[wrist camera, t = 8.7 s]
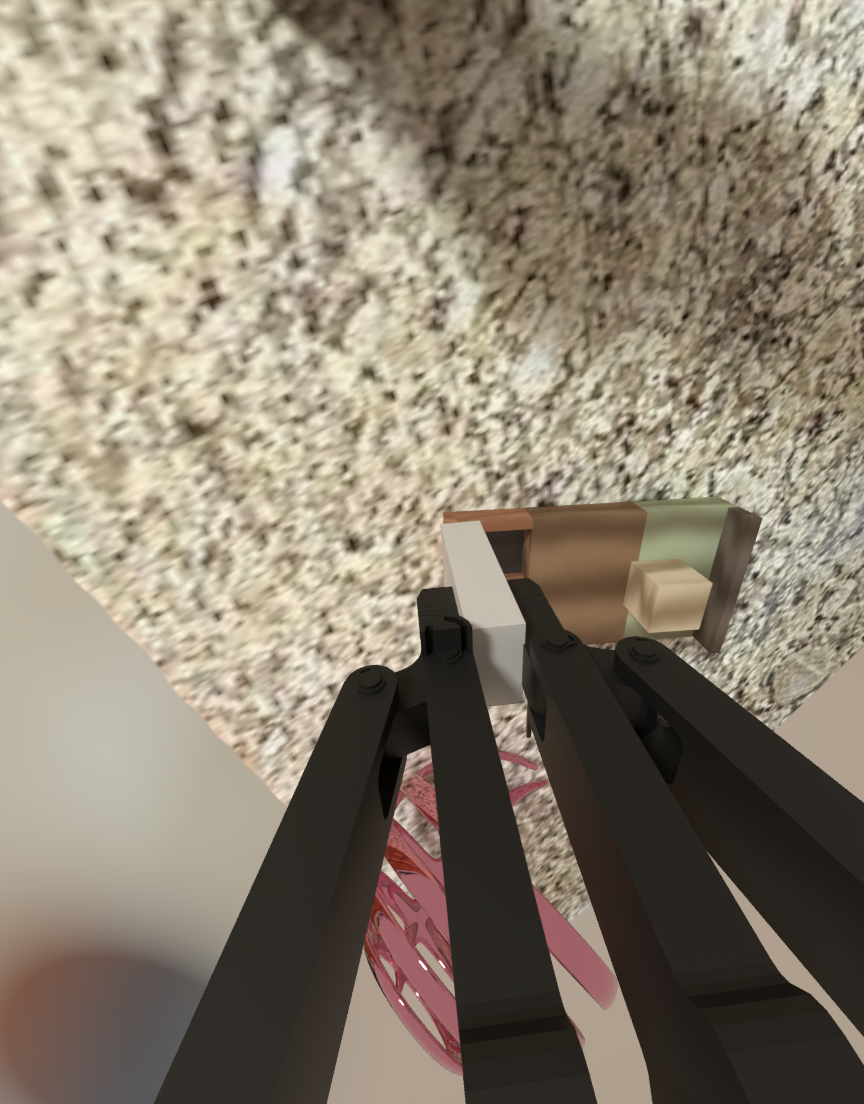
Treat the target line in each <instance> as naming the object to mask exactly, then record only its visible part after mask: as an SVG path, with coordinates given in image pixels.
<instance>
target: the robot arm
mask: <svg viewBox="0 0 864 1104" xmlns="http://www.w3.org/2000/svg"><path fill="white" fill-rule="evenodd" d="M441 540H442V556H443V573H444V586H445V587H440V588H430V589H422V590H421V592H420V594H419V596H418V597H417V607H418V617H419V628H420V639H421V654H420V656H419V658H418V659H417V660H416V661H415V663H413V664H412V665H411V666H409V667H407V668H405V669H403V670H401V671H398V672H395V673H394V671H392V670H391V669H389V668H388V667H385V666H380V665H370V666H365V667H362V668H359V669H357V670H356V671H354V672H353V673H351V674H350V675H349V676H348V678H347V679H346V680H345V682H344V684H343V686H342V688H341V690H340V693H339V695H338V697H337V699H336V701H335V704H334V706H333V708H332V710H331V713H330V715H329V717H328V719H327V721H326V724H325V726H324V728H323V730H322V732H321V735H320V737H319V739H318V741H317V744H316V746H315V748H314V750H313V752H312V755H311V757H310V759H309V761H308V763H307V766H306V768H305V770H304V772H303V775H302V777H301V779H300V781H299V783H298V786H297V788H296V790H295V792H294V794H293V797H292V799H291V801H290V803H289V806H288V808H287V810H286V812H285V814H284V817H283V819H282V821H281V823H280V826H279V828H278V830H277V832H276V834H275V837H274V839H273V841H272V843H271V845H270V848H269V850H268V852H267V855H266V856H265V859H264V861H263V863H262V865H261V868H260V870H259V872H258V874H257V876H256V879H255V881H254V883H253V885H252V887H251V890H250V892H249V894H248V896H247V899H246V901H245V903H244V905H243V908H242V910H241V912H240V914H239V916H238V918H237V921H236V923H235V925H234V927H233V930H232V932H231V934H230V936H229V939H228V941H227V943H226V945H225V947H224V949H223V952H222V954H221V956H220V958H219V961H218V963H217V965H216V967H215V970H214V972H213V974H212V976H211V978H210V981H209V983H208V985H207V987H206V989H205V991H204V994H203V996H202V999H201V1000H200V1003H199V1005H198V1007H197V1009H196V1011H195V1014H194V1016H193V1018H192V1020H191V1023H190V1025H189V1027H188V1029H187V1031H186V1034H185V1036H184V1038H183V1040H182V1042H181V1045H180V1047H179V1049H178V1051H177V1054H176V1056H175V1058H174V1060H173V1063H172V1065H171V1067H170V1069H169V1071H168V1073H167V1076H166V1078H165V1080H164V1083H163V1085H162V1087H161V1089H160V1091H159V1093H158V1096H157V1098H156V1100H155V1102H154V1104H327V1100H328V1095H329V1091H330V1087H331V1082H332V1078H333V1074H334V1070H335V1065H336V1061H337V1057H338V1052H339V1048H340V1043H341V1040H342V1035H343V1031H344V1026H345V1022H346V1018H347V1014H348V1009H349V1005H350V1001H351V997H352V992H353V988H354V984H355V979H356V975H357V970H358V967H359V962H360V958H361V954H362V949H363V945H364V941H365V936H366V932H367V928H368V924H369V919H370V915H371V911H372V906H373V902H374V898H375V894H376V889H377V885H378V881H379V876H380V872H381V868H382V863H383V859H384V855H385V851H386V846H387V842H388V838H389V833H390V829H391V825H392V821H393V816H394V812H395V808H396V803H397V799H398V795H399V790H400V786H401V782H402V778H403V773H404V769H405V765H406V760H407V754H410V753H412V752H414V751H417V750H419V749H421V748H423V747H426V746H428V745H430V744H431V754H432V764H433V774H434V785H435V795H436V805H437V815H438V825H439V836H440V846H441V856H442V866H443V877H444V887H445V897H446V907H447V917H448V928H449V938H450V948H451V958H452V969H453V979H454V989H455V999H456V1009H457V1020H458V1030H459V1040H460V1050H461V1061H462V1071H463V1081H464V1091H465V1102H466V1104H597V1101H596V1097H595V1093H594V1089H593V1086H592V1082H591V1078H590V1074H589V1071H588V1067H587V1064H586V1060H585V1057H584V1054H583V1050H582V1047H581V1044H580V1041H579V1039H578V1036H577V1033H576V1030H575V1028H574V1026H573V1024H572V1023H571V1021H570V1019H569V1018H568V1016H567V1014H566V1012H565V1009H564V1007H563V1003H562V999H561V997H560V992H559V989H558V985H557V981H556V977H555V973H554V969H553V965H552V961H551V957H550V953H549V949H548V945H547V941H546V937H545V933H544V930H543V926H542V922H541V918H540V914H539V910H538V906H537V902H536V898H535V894H534V890H533V886H532V882H531V878H530V874H529V871H528V867H527V863H526V859H525V855H524V851H523V847H522V843H521V839H520V835H519V831H518V827H517V823H516V819H515V815H514V812H513V808H512V804H511V800H510V796H509V792H508V788H507V784H506V780H505V776H504V772H503V768H502V764H501V760H500V756H499V752H498V749H497V745H496V741H495V737H494V733H493V729H492V725H491V721H490V717H489V713H488V709H487V707H488V706H497V705H506V704H515V703H523V690H524V692H525V695H526V698H527V701H528V705H527V725H526V734H527V738H530V737H531V729H532V732H533V734H534V737H535V740H536V743H537V746H538V749H539V752H540V755H541V758H542V761H543V764H544V766H545V769H546V772H547V775H548V778H549V781H550V784H551V787H552V790H553V793H554V796H555V799H556V801H557V804H558V807H559V810H560V813H561V816H562V819H563V822H564V825H565V828H566V831H567V833H568V836H569V839H570V842H571V845H572V848H573V851H574V854H575V857H576V860H577V863H578V866H579V868H580V871H581V874H582V877H583V880H584V883H585V886H586V889H587V892H588V895H589V898H590V900H591V903H592V906H593V909H594V912H595V915H596V918H597V921H598V923H599V927H600V929H601V932H602V935H603V938H604V941H605V944H606V947H607V950H608V953H609V956H610V958H611V962H612V965H613V967H614V970H615V973H616V976H617V979H618V982H619V985H620V988H621V991H622V994H623V997H624V999H625V1002H626V1005H627V1008H628V1011H629V1014H630V1017H631V1020H632V1023H633V1026H634V1028H635V1031H636V1034H637V1037H638V1040H639V1043H640V1046H641V1049H642V1052H643V1055H644V1059H645V1062H646V1065H647V1070H648V1074H649V1081H650V1088H651V1095H652V1102H653V1104H864V1065H863V1063H862V1062H861V1060H860V1059H859V1057H858V1055H857V1054H856V1052H855V1051H854V1049H853V1048H852V1046H851V1044H850V1043H849V1041H848V1040H847V1038H846V1036H845V1035H844V1034H843V1032H842V1031H841V1029H840V1028H839V1027H838V1025H837V1024H836V1022H835V1021H834V1020H833V1018H832V1017H831V1016H830V1014H829V1013H828V1012H827V1010H826V1009H825V1008H824V1007H823V1006H822V1005H821V1004H820V1003H819V1002H818V1001H817V1000H816V999H815V998H814V997H813V996H812V995H811V994H809V993H807V992H806V991H804V990H802V989H800V988H798V987H796V986H795V985H792V984H791V983H789V982H788V981H787V980H786V979H785V978H784V977H783V976H782V975H781V973H780V972H779V971H778V969H777V968H776V966H775V965H774V963H773V962H772V960H771V959H770V957H769V955H768V954H767V952H766V950H765V949H764V947H763V945H762V944H761V942H760V941H759V939H758V937H757V935H756V933H755V932H754V930H753V928H752V927H751V925H750V924H749V922H748V920H747V918H746V917H745V915H744V913H743V912H742V910H741V908H740V907H739V905H738V903H737V902H736V900H735V898H734V896H733V895H732V893H731V892H730V890H729V888H728V886H727V885H726V883H725V881H724V880H723V878H722V876H721V875H720V873H719V871H718V870H717V868H716V866H715V865H714V863H713V861H712V860H711V858H710V856H709V854H710V855H711V857H712V858H713V859H714V860H715V861H716V862H717V864H718V865H719V866H720V867H721V868H722V870H723V871H724V872H725V873H726V874H727V876H728V877H729V878H730V879H731V880H732V881H733V883H734V884H735V885H736V886H737V887H738V889H739V890H740V891H741V892H742V893H743V894H744V896H745V897H746V898H747V899H748V900H749V902H750V903H751V904H752V905H753V906H754V907H755V909H756V910H757V911H758V912H759V913H760V915H761V916H762V917H763V918H764V919H765V921H766V922H767V923H768V924H769V925H770V926H771V927H772V929H773V930H774V931H775V932H776V933H777V935H778V936H779V937H780V938H781V939H782V941H783V942H784V943H785V944H786V945H787V946H788V948H789V949H790V950H791V951H792V952H793V953H794V955H795V956H796V957H797V958H798V960H799V961H800V962H801V963H802V964H803V966H804V967H805V968H806V969H807V970H808V971H809V973H810V974H811V975H812V976H813V977H814V979H815V980H816V981H817V982H818V983H819V984H820V986H821V987H822V988H823V989H824V990H825V992H826V993H827V994H828V995H829V996H830V997H831V999H832V1000H833V1001H834V1002H835V1003H836V1005H837V1006H838V1007H839V1008H840V1009H841V1011H842V1012H843V1013H844V1014H845V1015H846V1016H847V1018H848V1019H849V1020H850V1021H851V1022H852V1024H853V1025H854V1026H855V1027H856V1028H857V1029H858V1031H859V1032H860V1033H861V1034H862V1035H863V1036H864V803H863V802H862V801H861V800H859V799H858V798H857V797H856V796H854V795H853V794H852V793H850V792H849V791H848V790H847V789H845V788H844V787H843V786H842V785H840V784H839V783H838V782H837V781H835V780H834V779H833V778H831V777H830V776H829V775H828V774H826V773H825V772H824V771H823V770H821V769H820V768H819V767H818V766H816V765H815V764H814V763H813V762H811V761H810V760H809V759H808V758H806V757H805V756H804V755H802V754H801V753H800V752H799V751H797V750H796V749H795V748H793V747H792V746H791V745H790V744H789V743H787V742H786V741H785V740H784V739H782V738H781V737H780V736H778V735H777V734H776V733H775V732H773V731H772V730H771V729H770V728H768V727H767V726H766V725H765V724H763V723H762V722H761V721H760V720H758V719H757V718H756V717H754V716H753V715H752V714H751V713H749V712H748V711H747V710H746V709H744V708H743V707H742V706H741V705H739V704H738V703H737V702H735V701H734V700H733V699H732V698H730V697H729V696H728V695H727V694H725V693H724V692H723V691H722V690H720V689H719V688H718V687H717V686H715V685H714V684H713V683H711V682H710V681H709V680H708V679H706V678H705V677H704V676H703V675H701V674H700V673H699V672H698V671H696V670H695V669H694V668H693V667H691V666H690V665H689V664H687V663H686V662H685V661H684V660H682V659H681V658H680V657H679V656H677V655H676V654H675V653H674V652H672V651H671V650H670V649H669V648H667V647H666V646H664V645H663V644H661V643H659V642H658V641H656V640H653V639H650V638H647V637H639V636H632V637H625V638H624V639H622V640H620V641H619V642H618V643H617V645H616V647H615V650H609V649H600V648H594V647H589V646H586V645H584V644H583V643H582V641H581V640H580V639H579V638H578V637H577V636H576V635H575V634H573V633H572V632H570V631H568V630H564V628H563V627H562V625H561V623H560V621H559V619H558V618H557V616H556V614H555V612H554V611H553V609H552V607H551V605H550V604H549V602H548V600H547V598H546V597H545V596H544V593H543V591H542V589H541V588H540V586H539V585H538V584H537V583H535V582H534V581H532V580H531V579H529V578H520V579H510V580H506V578H505V576H504V574H503V572H502V569H501V567H500V565H499V563H498V561H497V558H496V556H495V554H494V552H493V549H492V547H491V545H490V543H489V541H488V538H487V536H486V534H485V532H484V529H483V527H482V525H481V523H480V521H469V522H458V523H447V524H441ZM707 852H708V853H709V854H708V853H707Z"/></svg>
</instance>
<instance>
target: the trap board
mask: <svg viewBox="0 0 864 1104" xmlns="http://www.w3.org/2000/svg"><path fill="white" fill-rule="evenodd" d="M443 516H444V524H447V523H458V522H469V521H480V523H481V525H482V527H483V529H484V532H485V534H486V536H487V538H488V541H489V543H490V545H491V547H492V549H493V552H494V554H495V556H496V558H497V561H498V563H499V565H500V567H501V569H502V572H503V574H504V576H505V578H506V580H510V579H520V578H529V579H531V580H532V581H534V582H535V583H537V584H538V585H539V586H540V588H541V589H542V591H543V593H544V596H545V597H546V598H547V600H548V602H549V604H550V605H551V607H552V609H553V611H554V612H555V614H556V616H557V618H558V619H559V621H560V623H561V625H562V627H563V628H564V630H568V631H570V632H572V633H573V634H575V635H576V636H577V637H578V638H579V639H580V640H581V641H582V643H583V644H584V645H588V644H600V643H613V642H619V641H620V640H622V639H624V638H625V637H632V636H639V637H647V638H650V639H663V638H676V637H688V636H693V637H694V638H695V639H696V640H697V641H698V642H699V643H700V644H701V645H702V646H703V647H704V648H705V649H706V650H707V651H708V652H709V653H710V654H711V653H720V650H721V647H722V644H723V641H724V638H725V634H726V631H727V628H728V625H729V622H730V619H731V616H732V612H733V609H734V606H735V603H736V600H737V597H738V594H739V590H740V587H741V584H742V581H743V578H744V575H745V572H746V568H747V565H748V562H749V559H750V556H751V553H752V550H753V546H754V543H755V540H756V537H757V534H758V531H759V528H760V524H761V521H762V518H761V517H759V516H757V515H755V514H752V513H750V512H748V511H746V510H744V509H742V508H740V507H738V506H736V505H734V504H732V503H730V502H727V501H725V500H723V499H721V498H719V497H706V498H688V499H671V500H653V501H636V502H619V503H601V504H584V505H566V506H549V507H531V508H514V509H497V510H479V511H462V512H444V513H443ZM663 559H681V560H682V561H684V562H685V563H686V564H688V565H689V566H690V567H692V568H693V569H694V570H696V571H697V572H698V573H700V574H701V575H702V576H704V577H705V578H706V579H708V580H709V581H710V582H712V583H713V584H712V587H711V591H710V594H709V598H708V601H707V604H706V608H705V611H704V615H703V618H702V621H701V625H700V628H699V629H696V630H683V631H669V632H655V633H648V632H647V631H646V630H645V629H644V627H643V626H642V625H641V624H640V623H639V622H638V621H637V620H636V618H635V617H634V616H633V615H632V614H631V613H630V612H629V610H628V609H627V608H626V607H625V606H624V605H623V602H624V597H625V592H626V587H627V582H628V577H629V571H630V566H631V561H647V560H663Z"/></svg>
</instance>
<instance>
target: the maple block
mask: <svg viewBox="0 0 864 1104" xmlns="http://www.w3.org/2000/svg"><path fill="white" fill-rule="evenodd" d="M712 584H713V583H712V582H710V581H709V580H708V579H706V578H705V577H704V576H702V575H701V574H700V573H698V572H697V571H696V570H694V569H693V568H692V567H690V566H689V565H688V564H686V563H685V562H684V561H682V560H681V559H663V560H647V561H631V566H630V571H629V577H628V582H627V587H626V592H625V597H624V602H623V605H624V606H625V607H626V608H627V609H628V610H629V612H630V613H631V614H632V615H633V616H634V617H635V618H636V620H637V621H638V622H639V623H640V624H641V625H642V626H643V627H644V629H645V630H646V631H647V632H648V633H655V632H669V631H683V630H696V629H699V628H700V625H701V621H702V618H703V615H704V611H705V608H706V604H707V601H708V598H709V594H710V591H711V587H712Z"/></svg>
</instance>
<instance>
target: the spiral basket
mask: <svg viewBox="0 0 864 1104" xmlns="http://www.w3.org/2000/svg"><path fill="white" fill-rule="evenodd" d="M498 752H499V756H500V759H502V760H507V761H510V762H514V763H517V764H519V765H522V766H525V767H527V768H530V769H533V770H537V769H538V766H537V765H536V764H534V763H533V762H531V761H529V760H527V759H525V758H523V757H520V756H517V755H514V754H511V753H507V752H503V751H498ZM432 772H433V764H432V763H430V764H429V765H427V766H425V767H424V768H422V769H420V770H419V771H417V772H416V773H414V774H412V775H411V776H410V777H408V778H407V779H406V780H405V781H404V783H403V784H402V785H401V787H400V790H399V795H398V799H397V803H396V808H397V807H398V805H399V804H400V802H401V801H402V800H403V799H404V798H405V797H407V798H408V799H409V800H410V801H411V802H412V803H413V805H414V806H415V807H416V808H417V809H418V810H419V811H420V812H421V813H422V814H423V816H424V817H425V818H426V819H427V820H428V821H429V822H430V823H431V824H432V825H433V826H434V828H435V829H436V830H437V831H438V832H439V825H438V815H437V805H436V795H435V787H434V786H432V785H431V784H430V783H429V782H428V781H427V780H425V779H424V778H425V777H427V776H428V775H429V774H431V773H432ZM545 785H547V781H546V780H538V781H533V782H530V783H526V784H524V785H521V786H519V787H516V788H514V789H512V790H510V791H509V796H510V800H511V804H512V805H514V804H515V803H516V802H517V801H519V800H520V799H521V798H523V797H524V796H526V795H527V794H529V793H531V792H533V791H535V790H537V789H539V788H541V787H544V786H545ZM396 808H395V810H396ZM384 856H385V858H386V859H387V861H388V862H389V864H390V865H391V867H392V868H393V869H394V871H395V872H396V874H397V875H398V876H399V878H400V879H401V881H402V882H403V883H404V885H405V886H406V887H407V889H408V890H409V891H410V893H411V894H412V895H413V897H414V898H415V899H412V898H410V897H409V896H408V895H407V894H406V893H405V892H404V891H403V890H402V889H401V888H400V887H399V886H398V885H397V884H396V883H395V882H394V881H393V880H392V879H391V878H390V877H389V876H387V875H386V874H385V873H384V872H383V871H381V872H380V876H379V881H378V885H377V889H376V894H375V898H374V902H373V906H372V911H371V915H370V919H369V924H368V928H367V932H366V936H365V941H364V950H365V954H366V958H367V961H368V964H369V966H370V969H371V971H372V973H373V975H374V977H375V979H376V981H377V983H378V985H379V987H380V989H381V991H382V992H383V994H384V996H385V997H386V999H387V1001H388V1002H389V1004H390V1005H391V1007H392V1008H393V1010H394V1012H395V1013H396V1014H397V1016H398V1017H399V1019H400V1020H401V1022H402V1023H403V1024H404V1026H405V1027H406V1028H407V1029H408V1031H409V1032H410V1033H411V1035H412V1036H413V1037H414V1038H415V1040H416V1041H417V1042H418V1043H419V1044H420V1045H421V1047H422V1048H423V1049H424V1050H425V1051H426V1052H427V1053H428V1054H429V1055H430V1056H431V1057H432V1058H433V1059H434V1060H435V1061H436V1062H438V1063H439V1064H440V1065H441V1066H443V1067H444V1068H446V1069H447V1070H449V1071H450V1072H452V1073H455V1074H458V1075H460V1076H463V1071H462V1061H461V1050H460V1040H459V1030H458V1020H457V1009H456V999H455V997H454V996H453V995H452V993H451V992H450V991H449V990H448V989H447V987H446V986H445V985H444V983H443V982H442V981H441V980H440V978H439V977H438V976H437V975H436V973H435V972H434V971H433V970H432V968H431V967H430V966H429V964H428V963H427V962H426V960H425V959H424V958H423V957H422V955H421V954H420V952H419V951H418V950H417V948H416V947H415V946H416V945H417V943H422V944H423V945H424V946H426V948H427V949H428V950H429V951H430V952H431V954H432V955H433V956H434V958H435V959H436V960H437V961H438V962H439V964H440V965H441V966H442V968H443V969H444V970H445V972H446V973H447V974H448V976H449V977H450V978H451V980H452V981H453V982H454V979H453V969H452V958H451V948H450V943H449V942H450V938H449V928H448V917H447V907H446V897H445V887H444V877H443V866H442V856H441V857H440V858H437V859H435V858H433V857H431V856H430V855H429V854H428V853H427V852H426V851H425V850H424V849H423V848H422V847H421V846H420V845H419V843H418V842H417V841H416V840H415V839H414V838H413V837H412V836H411V835H410V834H409V833H408V832H407V831H406V830H405V829H404V828H403V827H402V826H401V825H400V824H399V823H398V822H397V821H396V820H395V819H394V818H393V821H392V825H391V829H390V833H389V838H388V842H387V846H386V851H385V855H384ZM532 886H533V890H534V894H535V898H536V902H537V906H538V910H539V914H540V918H541V922H542V926H543V930H544V933H545V937H546V941H547V945H548V949H549V952H550V953H551V954H552V955H553V956H554V957H555V958H556V959H557V961H558V962H559V963H560V964H561V965H562V966H563V967H564V968H565V969H566V970H567V971H568V972H569V973H570V974H571V975H572V977H573V978H574V979H575V980H576V981H577V982H578V983H579V984H580V985H581V986H582V987H583V988H584V989H585V990H586V991H587V992H588V994H589V995H590V996H591V997H592V998H593V999H594V1000H595V1001H596V1002H597V1003H598V1004H599V1005H600V1006H601V1007H602V1008H603V1009H604V1010H608V1009H609V1008H610V1007H611V1005H612V1003H613V1001H614V999H615V996H616V993H617V987H618V983H617V979H616V977H615V976H614V974H613V973H612V972H611V970H610V969H609V968H608V967H607V965H606V964H605V963H604V962H603V961H602V959H601V958H600V957H599V956H598V955H597V954H596V952H595V951H594V950H593V949H592V948H591V947H590V946H589V944H588V943H587V942H586V941H585V940H584V939H583V938H582V937H581V935H580V934H579V933H578V932H577V931H576V930H575V929H574V928H573V927H572V926H571V925H570V923H569V922H568V921H567V920H566V919H565V918H564V917H563V916H562V915H561V914H560V913H559V912H558V911H557V909H556V908H555V907H554V906H553V905H552V904H551V903H550V902H549V901H548V900H547V899H546V898H545V897H544V896H543V895H542V894H541V893H540V891H539V890H538V889H537V888H536V887H535V886H534V885H533V884H532ZM386 904H387V905H388V906H389V907H390V908H391V909H392V910H393V911H394V912H395V913H396V914H397V915H398V916H399V917H400V918H401V920H402V921H403V923H404V927H405V932H404V930H403V929H402V928H401V926H400V925H399V923H398V922H397V920H396V919H395V917H394V916H393V914H392V913H391V911H390V910H389V908H388V907H387V905H386ZM433 922H434V923H433ZM434 924H435V925H436V926H437V927H438V929H439V930H440V931H441V932H442V933H443V935H444V936H445V937H446V938H447V940H448V941H449V942H448V941H447V940H446V939H445V937H444V936H443V935H442V934H441V932H440V931H439V930H438V929H437V927H436V926H435V925H434ZM379 956H381V957H382V958H383V959H385V960H386V961H387V962H388V963H389V964H390V965H391V966H392V967H393V969H394V971H395V976H396V985H395V984H394V982H393V981H392V980H391V978H390V976H389V974H388V973H387V971H386V969H385V968H384V966H383V964H382V962H381V960H380V957H379ZM404 983H406V984H408V985H409V987H410V988H411V989H412V991H413V992H414V993H415V995H416V996H417V998H418V999H419V1000H420V1002H421V1003H422V1005H423V1006H424V1008H425V1009H426V1010H427V1012H428V1014H429V1016H430V1017H431V1019H432V1021H433V1022H434V1024H435V1026H436V1027H437V1029H438V1031H439V1033H440V1035H441V1037H442V1039H443V1041H444V1044H445V1046H446V1049H447V1050H446V1049H445V1048H444V1047H443V1046H442V1045H441V1044H440V1043H439V1041H438V1040H437V1039H436V1038H435V1037H434V1036H433V1035H432V1034H431V1033H430V1031H429V1030H428V1029H427V1028H426V1027H425V1025H424V1024H423V1023H422V1021H421V1020H420V1019H419V1018H418V1016H417V1015H416V1014H415V1013H414V1011H413V1010H412V1008H411V1007H410V1006H409V1004H408V1003H407V1002H406V1000H405V999H404V997H403V996H402V994H401V992H402V989H403V986H404ZM566 1014H567V1013H566ZM567 1016H568V1015H567ZM568 1018H569V1019H570V1021H571V1023H572V1024H573V1026H574V1028H575V1030H576V1033H577V1036H578V1039H579V1041H580V1044H581V1047H582V1049H583V1047H584V1044H585V1039H584V1036H583V1035H582V1033H581V1032H580V1030H579V1029H578V1028H577V1026H576V1025H575V1023H574V1022H573V1021H572V1019H571V1018H570V1017H569V1016H568Z"/></svg>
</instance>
